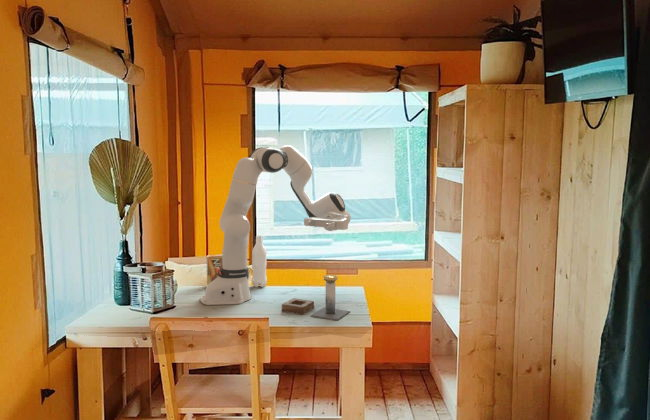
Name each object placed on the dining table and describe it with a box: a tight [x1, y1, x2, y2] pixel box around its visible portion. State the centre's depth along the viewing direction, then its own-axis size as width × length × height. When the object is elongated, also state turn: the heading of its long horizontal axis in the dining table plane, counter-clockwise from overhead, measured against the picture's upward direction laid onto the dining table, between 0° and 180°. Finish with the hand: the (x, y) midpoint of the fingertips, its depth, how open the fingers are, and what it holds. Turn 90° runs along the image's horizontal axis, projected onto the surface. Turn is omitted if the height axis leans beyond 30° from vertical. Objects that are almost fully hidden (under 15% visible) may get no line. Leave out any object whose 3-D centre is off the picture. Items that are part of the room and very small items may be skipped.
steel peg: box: [323, 274, 338, 314], centre depth 213 cm, size 6×6×15 cm
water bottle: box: [251, 235, 268, 288], centre depth 256 cm, size 7×7×25 cm
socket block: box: [281, 297, 315, 315], centre depth 220 cm, size 10×10×3 cm
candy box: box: [206, 254, 223, 286], centre depth 257 cm, size 9×4×15 cm, turn 111°
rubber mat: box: [310, 306, 351, 322], centre depth 213 cm, size 12×12×1 cm
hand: (318, 224), depth 234 cm, fingers open, 8 cm apart
